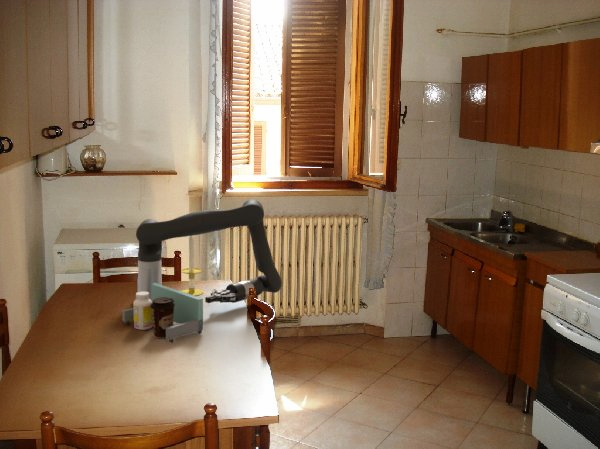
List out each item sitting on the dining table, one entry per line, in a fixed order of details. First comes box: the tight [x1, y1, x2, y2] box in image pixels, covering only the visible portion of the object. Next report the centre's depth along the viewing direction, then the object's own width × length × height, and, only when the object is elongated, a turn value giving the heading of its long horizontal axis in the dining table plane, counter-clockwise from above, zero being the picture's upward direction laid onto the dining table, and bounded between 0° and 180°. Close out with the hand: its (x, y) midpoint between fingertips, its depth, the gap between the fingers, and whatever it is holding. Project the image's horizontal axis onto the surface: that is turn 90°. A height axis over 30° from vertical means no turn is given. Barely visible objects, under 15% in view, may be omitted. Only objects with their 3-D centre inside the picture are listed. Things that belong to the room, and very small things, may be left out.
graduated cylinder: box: [181, 235, 204, 297], centre depth 289 cm, size 10×10×27 cm
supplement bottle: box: [132, 291, 153, 331], centre depth 247 cm, size 7×7×13 cm
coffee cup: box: [150, 297, 175, 339], centre depth 239 cm, size 9×8×13 cm
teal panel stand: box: [121, 283, 204, 343], centre depth 245 cm, size 28×15×13 cm, turn 48°
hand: (206, 300), depth 260 cm, fingers closed
